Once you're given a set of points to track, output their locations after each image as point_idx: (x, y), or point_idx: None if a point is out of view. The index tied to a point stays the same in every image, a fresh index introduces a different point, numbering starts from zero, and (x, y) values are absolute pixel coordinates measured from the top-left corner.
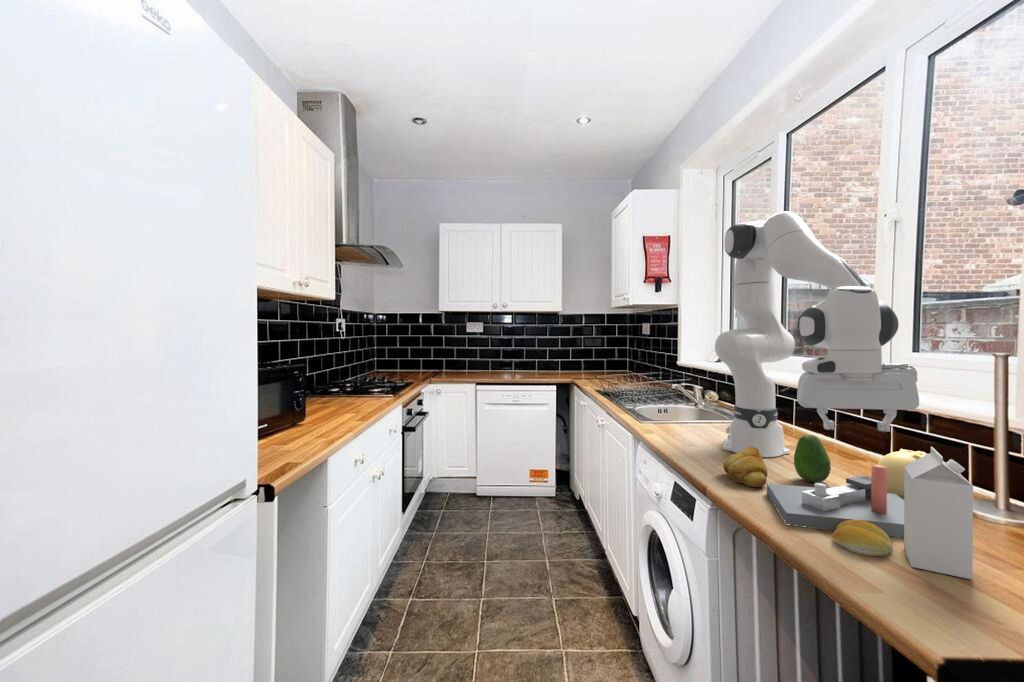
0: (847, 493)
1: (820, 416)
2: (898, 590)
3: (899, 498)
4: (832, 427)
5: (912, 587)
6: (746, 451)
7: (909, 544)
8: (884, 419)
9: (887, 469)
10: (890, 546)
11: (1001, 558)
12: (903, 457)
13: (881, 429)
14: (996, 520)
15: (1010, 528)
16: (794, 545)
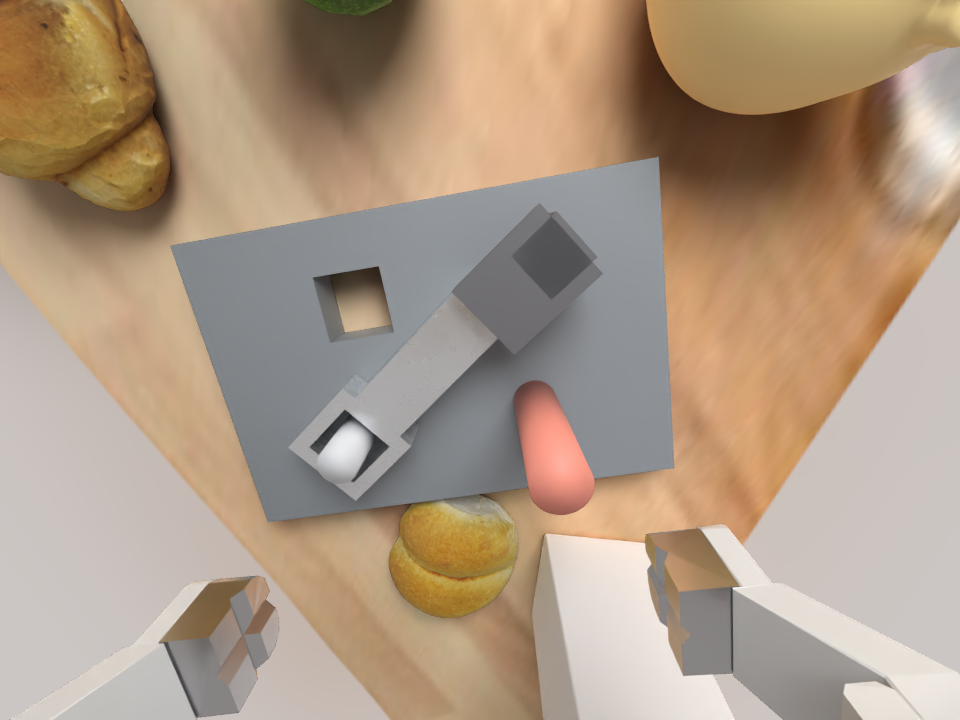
0: (444, 391)
1: (66, 694)
2: (480, 696)
3: (651, 222)
4: (255, 656)
5: (507, 679)
6: None
7: (539, 627)
8: (766, 639)
9: (700, 13)
10: (507, 581)
11: (750, 494)
12: None
13: (658, 610)
14: (928, 189)
15: (922, 257)
16: (309, 600)
